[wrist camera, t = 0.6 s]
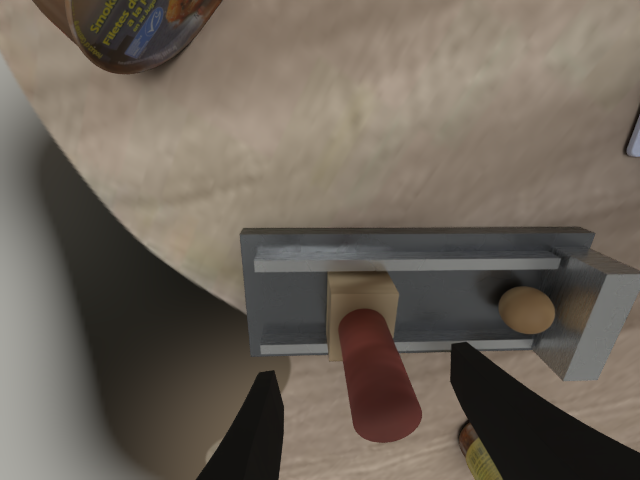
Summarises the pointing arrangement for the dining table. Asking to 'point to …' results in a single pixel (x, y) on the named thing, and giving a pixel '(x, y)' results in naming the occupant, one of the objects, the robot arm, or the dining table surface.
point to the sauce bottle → (477, 455)
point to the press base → (442, 289)
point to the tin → (129, 29)
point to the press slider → (370, 354)
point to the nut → (526, 310)
